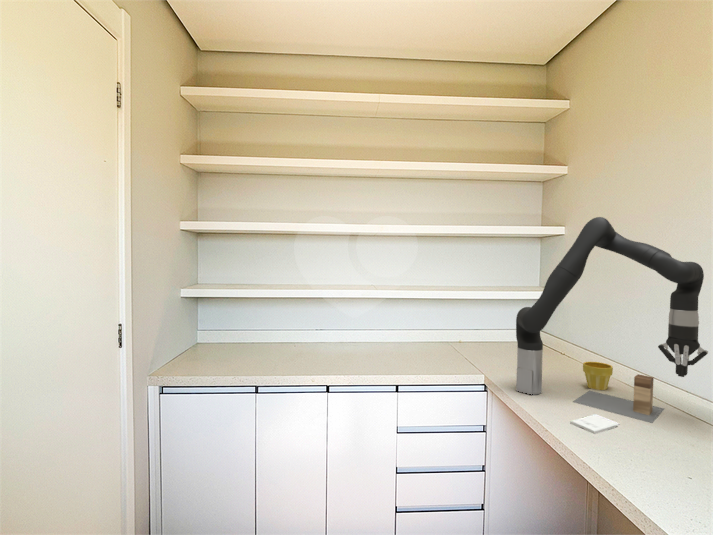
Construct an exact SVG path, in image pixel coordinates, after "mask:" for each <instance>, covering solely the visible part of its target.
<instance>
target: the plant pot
mask: <svg viewBox="0 0 713 535" xmlns="http://www.w3.org/2000/svg"><path fill="white" fill-rule="evenodd" d="M613 368H614V367H613V366H612V365H611V364H608V363H604V362H600V361H585V362H583V363H582V371H583V373H584V375H585V378H586V385H587V388H589V389H593V390H597V391H598V390H599V391H605V390H608V386H609V382H610V380H611V376H613V372H614V371H613V370H614V369H613Z"/></svg>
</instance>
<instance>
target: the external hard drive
mask: <svg viewBox="0 0 713 535" xmlns="http://www.w3.org/2000/svg"><path fill="white" fill-rule="evenodd" d="M569 424H570V425H572V426H575V427H578V428H579V429H580V428H581V429H583V430H585V431H587V432H588V433H591V434H594V435H596V434H599V433H602V432H606V431H609V430H612V429H615V428H619V425H620V422H617V421H614V420H612V419H609V418H608V417H604V416H602V415H599V414H596V413H595V414H594V413H593V414H590V415H588V416H585V417H581V418H577V419H573V420H570V421H569Z"/></svg>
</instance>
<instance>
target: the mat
mask: <svg viewBox="0 0 713 535" xmlns="http://www.w3.org/2000/svg"><path fill="white" fill-rule="evenodd" d="M633 402H634V400H632V399H631V400H630V399H626V398H623V397H620V396H615V395H610V394H605V393H601V392H598V391H593V390H588V391H587V392H585V393H583V394H582V395H580V396H579V397H577V398H576V399H575V400H572V403H575V404H578V405H583V406H586V407H590V408H594V409H598V410H601V411H605V412H609V413H611V414H612V413H613V414H616V415H620V416H623V417H626V418H627V417H628V418H632V419H634V420H638V421H643V422H646V423H648V424H649V423H650V424H653V423H654V422H655V420H657V418H658V417H659V416H660V415H661V414H662V413H663V412H664V410H665V408H664V407H660V406H656V405H653V406H652V413H651V414H650V415H646V414H642V413H638V412H634V411H633Z"/></svg>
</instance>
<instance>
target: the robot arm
mask: <svg viewBox="0 0 713 535" xmlns="http://www.w3.org/2000/svg"><path fill="white" fill-rule="evenodd" d="M595 247H597V248H599V249H604V250H606V251H610V252H613V253H616V254H619V255H621V256H624V257H625V258H627V259H631V260H632V261H635V262H637V263H639V264H640V265H642V266H644V267H647V268H649V269H650V270H653V271H655V272H656V273H657V274H659V275H660V276H662V277H663V278H664V279H666V280H668V281H669V282H671V283H675V284H676V289H675V290H674V291H672V292H671V294H670V298H669V299H670V300H669V302H670V303H669V312H668V323H667V324H668V325H667V326H668V330H667V331H668V332H667V339H666V340H665V342H664V343H661V344H659V345H658V346H657V348H658V349H659V351H660V352H661V353H662V354H663V355H664V356H665V358H666V359H667V360H668V361H669V362H671V363H674V364H675V374H676V375H677V376H678V377H681V378H685V377H686V376H687V375H688V373H689V372H688V367H689V366H694V365H695V364H697V363H698V362H699V361H701V360H702V359H703V358H705V357H706V356H707V355H708V354H709V351H708V350H706V349H705V348H703V347H701V343H699V325H700V321H699V320H700V316H699V296H700V292H701V289H702V286H703V283H704V278H705V277H704V276H705V273H704V269H703V268H702V266H701V265H700V264H699V263H698V262H694V261H681V260H679V259H677V258H674V257H672V255H671V253H669V252H667V251H665V250H663V249H660V248H658V247H656V246H653V245H652V244H648V243H645V242H640V241H634V240H632V239H629V238H626V237H625V236H622V235H621V234H619V232H617V231H616V229H614V227H613V225H612V224H611V222H610V221H609V220H608V219H607V218H605V217H604V216H597V217H593V218H591V219H590V220H589V221H587V222H586V224H584V226H583V227H582V229H581V230H580V233H579V234H578V235H577V237H576V239H575V241H574V242H573V244H572V246H571V247H570V248H569V250H568V251H567V252H566V253H565V255H564V256H563V257H562V259H561V260H560V261H559V263H558V264H557V265H556V266H555V268H554V269H553V270H552V271H551V273H550V274H549V276H548V278H547V279H546V283H545V285H544V287H543V291H542V292H541V295H540V296H539V298H538V299H537V301H535V303H534V304H533V305H532V306H525V307H523V308H521V309H519V311H518V312H517V313H516V316H515V317H516V318H515V325H516V326H515V336H516V337H515V338H516V341H517V346H516V347H517V348H516V349H517V350H516V351H517V352H516V353H517V356H516V378H515V379H516V381H515V382H516V386H515V390H516V392H518V391H519V392H518V393H522V392H523V394H525V393H527V394H526V395H529V394H531V395H530V396H533V395H540V394H542V393H541V392H542V390H543V388H542V387H543V355H544V354H543V351H544V344H543V340H542V336H541V331H542V330H544V329H545V327H546V326H547V324H548V322H549V321H550V319H551V317H552V316H553V314H554V312H555V311H556V309H557V308H558V307H559V305H560V304H561V303H562V302H563V300H565V298H566V297H567V295H568V294H569V293H570V292H571V290H572V289H573V288H574V287H575V285H576V284H577V283H578V281H579V280H580V279H581V278H582V276H583V273H584V271H585V267H586V264H587V261H588V259H589V256H590V254H591V252H592V251H593V250H594V248H595ZM669 349H670V350H671V352H672V353H674V355H673V354H672V353H671V352H670V351H669ZM696 351H697V352H696ZM695 352H696V354H697V355H696V356H695V357H694V358H692V360H690V357H691V355H692V354H694V353H695ZM532 394H533V395H532Z"/></svg>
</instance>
